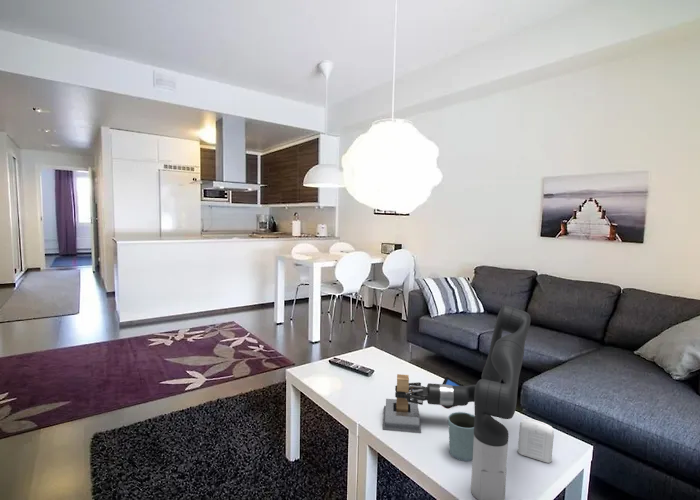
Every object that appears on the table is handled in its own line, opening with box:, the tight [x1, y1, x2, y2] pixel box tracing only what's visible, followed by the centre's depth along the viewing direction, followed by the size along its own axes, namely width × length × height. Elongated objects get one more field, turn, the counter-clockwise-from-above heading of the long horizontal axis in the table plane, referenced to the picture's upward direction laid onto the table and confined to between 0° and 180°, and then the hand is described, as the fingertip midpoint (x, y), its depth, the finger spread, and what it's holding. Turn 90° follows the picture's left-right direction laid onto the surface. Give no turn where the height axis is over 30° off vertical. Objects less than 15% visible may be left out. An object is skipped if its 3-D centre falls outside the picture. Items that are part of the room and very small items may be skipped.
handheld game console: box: [441, 376, 464, 409], centre depth 163 cm, size 12×11×7 cm
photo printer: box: [517, 418, 555, 464], centre depth 125 cm, size 10×4×12 cm, turn 60°
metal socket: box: [382, 398, 422, 434], centre depth 146 cm, size 16×14×5 cm
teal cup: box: [447, 411, 475, 462], centre depth 126 cm, size 10×10×12 cm
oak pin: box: [396, 373, 410, 412], centre depth 146 cm, size 4×4×14 cm
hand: (395, 391), depth 146 cm, fingers closed on oak pin, 4 cm apart
